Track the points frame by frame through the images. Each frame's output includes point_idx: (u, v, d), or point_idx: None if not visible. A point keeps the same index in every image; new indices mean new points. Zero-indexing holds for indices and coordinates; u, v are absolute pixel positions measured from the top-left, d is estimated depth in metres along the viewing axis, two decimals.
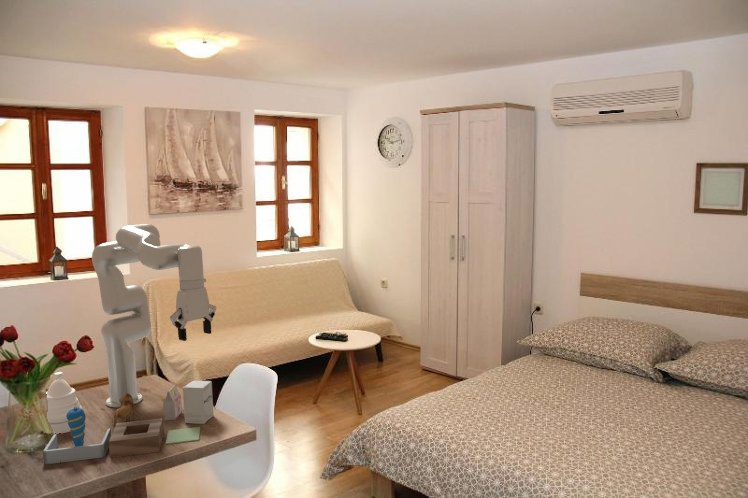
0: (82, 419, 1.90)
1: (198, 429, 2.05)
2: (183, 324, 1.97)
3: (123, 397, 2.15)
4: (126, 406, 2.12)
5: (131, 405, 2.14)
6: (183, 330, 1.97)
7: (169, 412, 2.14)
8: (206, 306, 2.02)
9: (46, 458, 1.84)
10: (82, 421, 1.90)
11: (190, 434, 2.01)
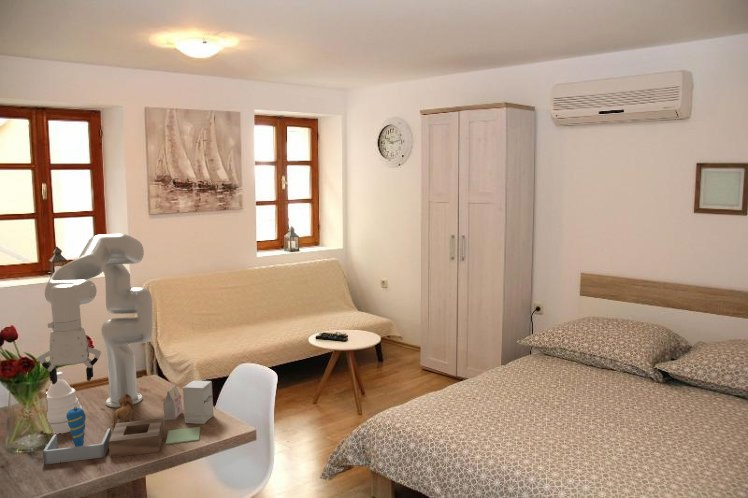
0: (82, 419, 1.90)
1: (198, 429, 2.05)
2: None
3: (122, 398, 2.14)
4: (125, 407, 2.11)
5: (130, 406, 2.14)
6: None
7: (169, 412, 2.14)
8: None
9: (46, 458, 1.84)
10: (82, 421, 1.90)
11: (190, 434, 2.01)
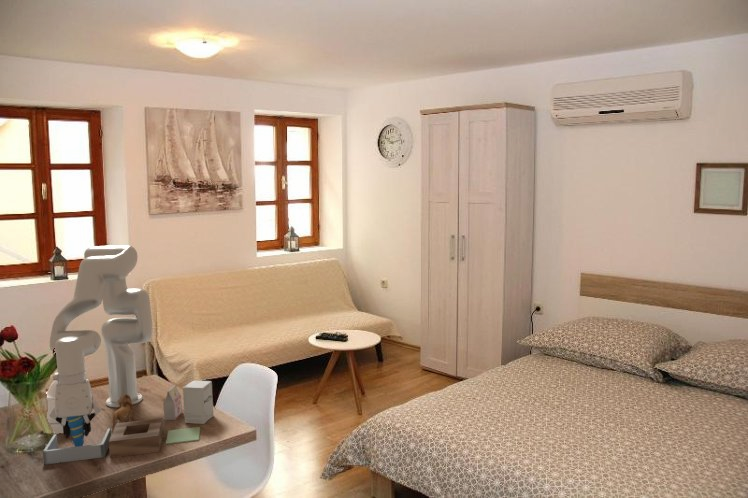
0: (82, 419, 1.90)
1: (198, 429, 2.05)
2: None
3: (122, 398, 2.14)
4: (125, 407, 2.11)
5: (130, 406, 2.13)
6: None
7: (169, 412, 2.14)
8: None
9: (46, 458, 1.84)
10: (82, 421, 1.90)
11: (190, 434, 2.01)
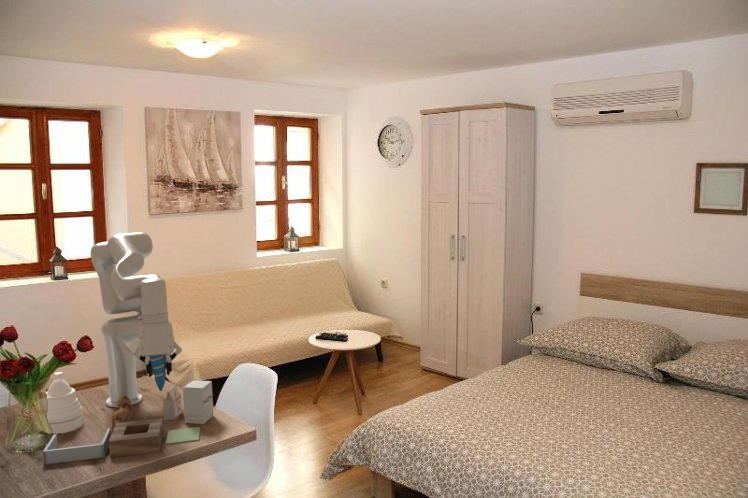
0: (164, 358, 1.95)
1: (198, 429, 2.05)
2: None
3: (120, 399, 2.13)
4: (124, 408, 2.10)
5: (129, 407, 2.12)
6: None
7: (169, 412, 2.14)
8: None
9: (46, 458, 1.84)
10: (164, 360, 1.95)
11: (190, 434, 2.01)
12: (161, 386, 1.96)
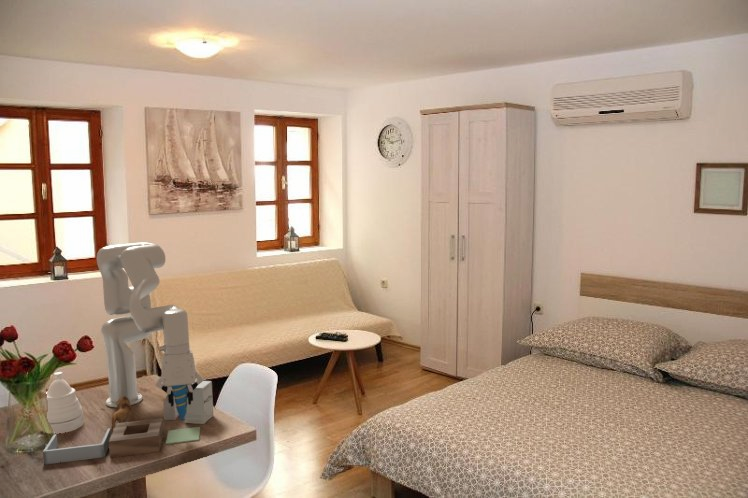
0: (186, 388, 1.98)
1: (198, 429, 2.05)
2: None
3: (120, 400, 2.12)
4: (123, 409, 2.09)
5: (128, 408, 2.12)
6: None
7: (169, 412, 2.14)
8: None
9: (46, 458, 1.84)
10: (186, 390, 1.98)
11: (190, 434, 2.01)
12: (183, 415, 1.99)
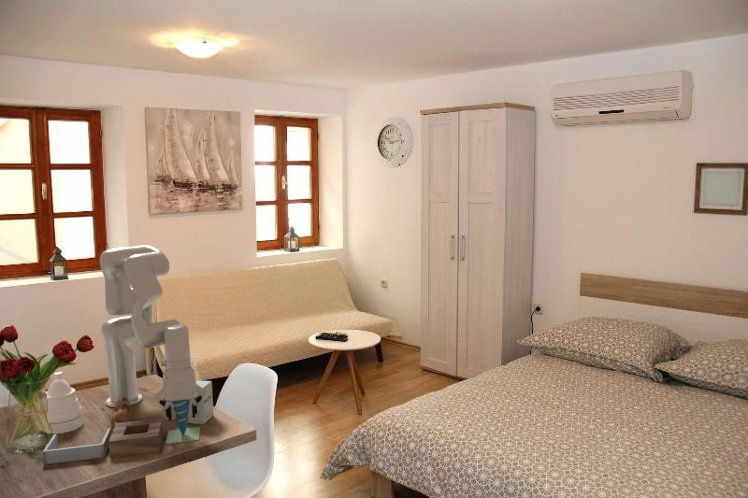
0: (187, 403, 1.99)
1: (198, 429, 2.05)
2: None
3: (119, 401, 2.11)
4: (123, 410, 2.08)
5: (128, 409, 2.11)
6: None
7: None
8: None
9: (46, 458, 1.84)
10: (187, 405, 1.99)
11: (190, 434, 2.01)
12: (184, 430, 2.00)
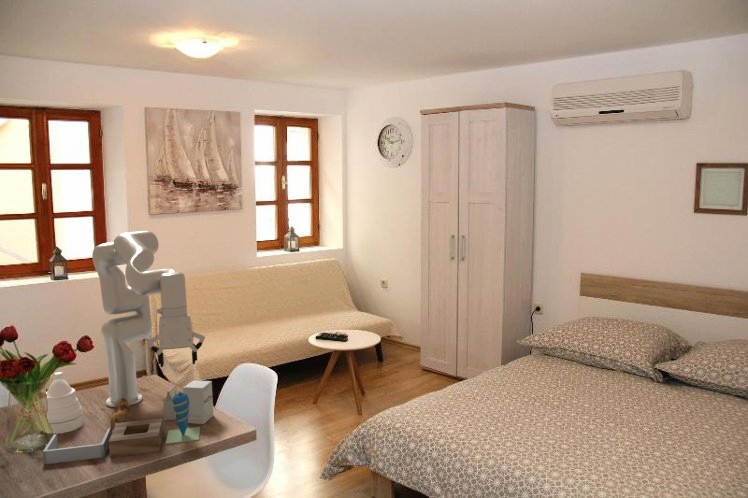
0: (187, 403, 1.99)
1: (198, 429, 2.05)
2: None
3: (119, 402, 2.11)
4: (122, 411, 2.08)
5: (127, 410, 2.10)
6: None
7: (169, 412, 2.14)
8: None
9: (46, 458, 1.84)
10: (187, 405, 1.99)
11: (190, 434, 2.01)
12: (184, 430, 2.00)
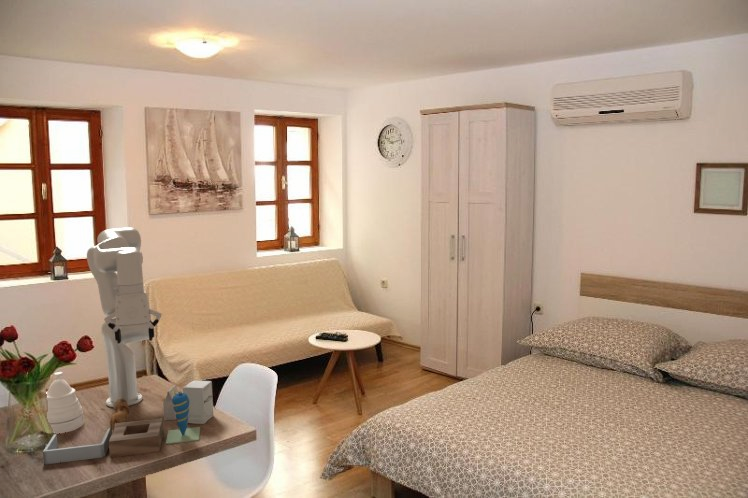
0: (187, 403, 1.99)
1: (198, 429, 2.05)
2: None
3: (118, 402, 2.10)
4: (122, 411, 2.07)
5: (126, 410, 2.10)
6: None
7: (169, 412, 2.14)
8: None
9: (46, 458, 1.84)
10: (187, 405, 1.99)
11: (190, 434, 2.01)
12: (184, 430, 2.00)
